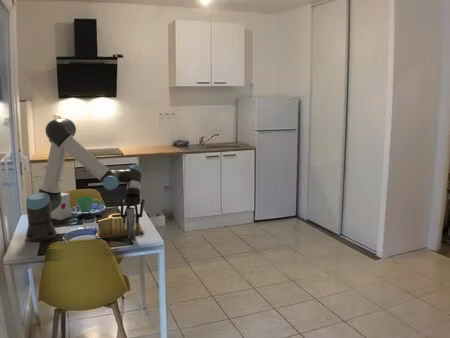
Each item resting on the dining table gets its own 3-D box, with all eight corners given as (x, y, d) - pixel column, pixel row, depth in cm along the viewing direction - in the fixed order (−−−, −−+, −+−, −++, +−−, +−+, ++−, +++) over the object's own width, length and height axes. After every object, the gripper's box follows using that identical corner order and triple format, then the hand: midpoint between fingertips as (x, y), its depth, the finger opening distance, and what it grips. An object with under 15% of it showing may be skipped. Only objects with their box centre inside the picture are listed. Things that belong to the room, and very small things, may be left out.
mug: (75, 215, 268) (74, 200, 266) (81, 211, 277) (80, 196, 276) (97, 215, 267) (96, 200, 265) (103, 211, 276) (102, 196, 275)
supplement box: (60, 220, 258) (58, 196, 255) (50, 218, 262) (48, 195, 259) (72, 216, 266) (70, 193, 263) (61, 214, 270) (59, 192, 267)
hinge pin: (128, 239, 222) (127, 210, 219) (127, 236, 226) (126, 208, 223) (136, 238, 223) (134, 209, 220) (135, 235, 227) (133, 207, 224)
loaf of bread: (96, 239, 225) (95, 222, 223) (95, 230, 239) (93, 214, 237) (143, 233, 233) (142, 217, 231) (139, 225, 247) (138, 209, 245)
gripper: (149, 193, 237) (147, 231, 223) (118, 194, 235) (114, 232, 222) (148, 186, 230) (145, 225, 217) (116, 187, 229) (112, 226, 216)
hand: (130, 228), depth 220 cm, fingers closed on hinge pin, 4 cm apart
